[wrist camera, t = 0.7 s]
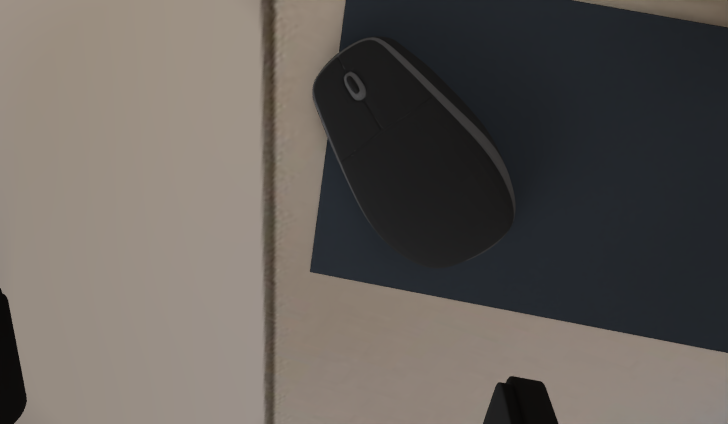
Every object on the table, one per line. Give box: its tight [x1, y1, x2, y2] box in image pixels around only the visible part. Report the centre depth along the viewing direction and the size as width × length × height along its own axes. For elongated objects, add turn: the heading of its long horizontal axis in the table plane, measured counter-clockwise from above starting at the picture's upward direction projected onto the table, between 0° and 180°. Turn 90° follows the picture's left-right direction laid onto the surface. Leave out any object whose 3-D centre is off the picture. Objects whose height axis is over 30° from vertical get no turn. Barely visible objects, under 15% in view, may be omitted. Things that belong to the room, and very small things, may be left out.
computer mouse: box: [313, 36, 515, 269], centre depth 22 cm, size 7×12×4 cm, turn 37°
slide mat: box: [310, 0, 728, 353], centre depth 24 cm, size 16×36×1 cm, turn 81°
